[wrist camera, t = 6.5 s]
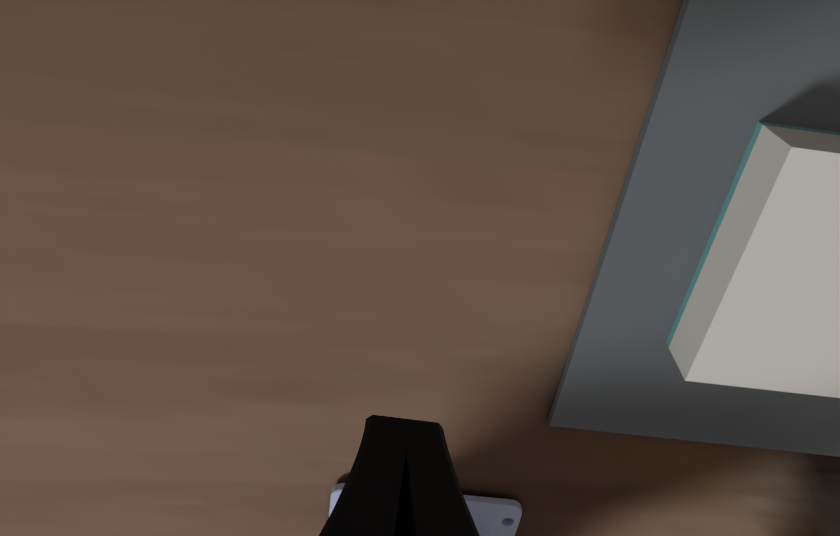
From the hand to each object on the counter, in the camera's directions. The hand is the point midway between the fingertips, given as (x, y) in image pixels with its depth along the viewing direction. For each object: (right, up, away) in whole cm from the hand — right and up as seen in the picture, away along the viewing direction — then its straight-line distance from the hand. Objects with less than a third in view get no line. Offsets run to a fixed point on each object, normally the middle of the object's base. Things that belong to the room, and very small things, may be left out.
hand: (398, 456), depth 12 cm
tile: (+9, +4, +8) cm, 13 cm away
